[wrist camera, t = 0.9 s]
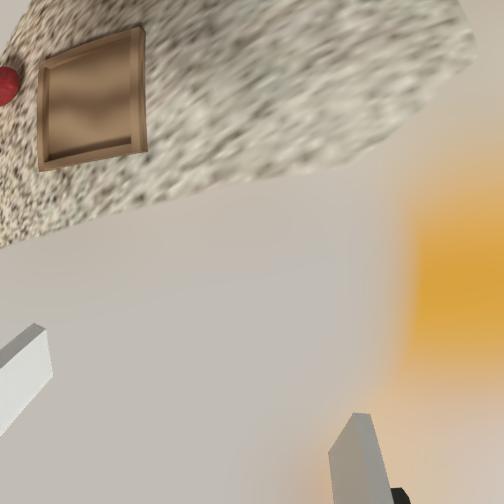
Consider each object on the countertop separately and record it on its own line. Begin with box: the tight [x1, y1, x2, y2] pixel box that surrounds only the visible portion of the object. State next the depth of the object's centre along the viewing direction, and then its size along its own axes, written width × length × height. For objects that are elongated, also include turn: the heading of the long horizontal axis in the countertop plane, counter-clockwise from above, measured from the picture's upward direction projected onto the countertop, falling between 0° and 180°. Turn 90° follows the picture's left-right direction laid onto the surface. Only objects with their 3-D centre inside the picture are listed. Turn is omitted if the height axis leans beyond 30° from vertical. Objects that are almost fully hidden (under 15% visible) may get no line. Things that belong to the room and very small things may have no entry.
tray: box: [37, 27, 148, 172], centre depth 30 cm, size 15×15×2 cm
